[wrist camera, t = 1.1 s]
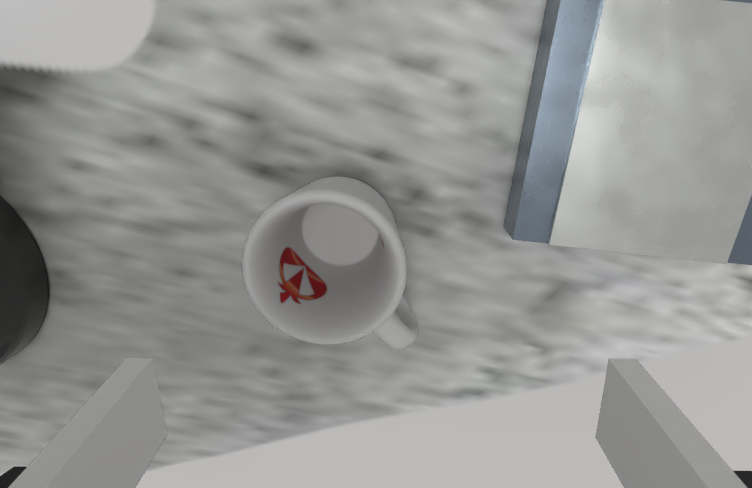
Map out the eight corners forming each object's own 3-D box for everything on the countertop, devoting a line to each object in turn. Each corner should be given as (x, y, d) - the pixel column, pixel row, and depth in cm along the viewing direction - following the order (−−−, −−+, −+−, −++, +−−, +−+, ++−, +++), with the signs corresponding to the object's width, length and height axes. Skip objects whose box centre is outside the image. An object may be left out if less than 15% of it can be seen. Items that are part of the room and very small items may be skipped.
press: (503, 226, 30) (525, 258, 25) (608, -316, 22) (674, -440, 17) (730, 250, 30) (799, 287, 25) (924, -288, 22) (1090, -402, 16)
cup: (458, 265, 31) (477, 326, 24) (364, 334, 33) (354, 410, 26) (347, 133, 29) (328, 154, 21) (253, 216, 31) (205, 262, 23)
